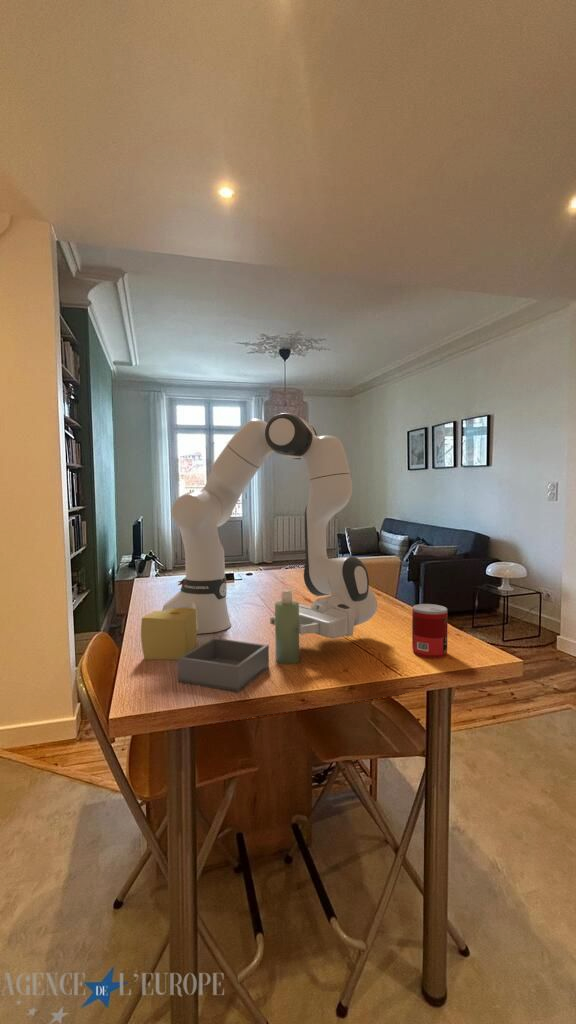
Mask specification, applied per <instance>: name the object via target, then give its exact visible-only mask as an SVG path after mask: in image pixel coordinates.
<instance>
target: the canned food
mask: <svg viewBox="0 0 576 1024" xmlns="http://www.w3.org/2000/svg"><path fill="white" fill-rule="evenodd" d="M411 611H412V612H411V613H412V614H411V616H412V617H411V618H412V619H411V620H412V621H411V622H412V623H411V625H412V628H411V630H412V631H411V632H412V633H411V634H412V642H411V643H412V644H411V645H412V646H411V647H412V648H411V649H412V650H413V651H412V652H413V654H415V655H416V656H418V657H419V658H420V657H421V658H425V659H441V658H444V657H446V656H447V654H448V629H449V627H448V625H449V624H448V618H449V617H448V608H447V607H445V606H443V605H439V604H432V603H420V604H415V605H413V606H412V610H411Z"/></svg>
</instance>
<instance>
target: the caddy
mask: <svg viewBox="0 0 576 1024" xmlns="http://www.w3.org/2000/svg"><path fill="white" fill-rule="evenodd" d="M269 647H270V646H269V644H263V643H255V642H248V641H240V640H233V639H224V638H216V637H212V639H209V640H207V641H206V642H203V643H202V644H200V645H198V646H196V647H195V648H194V649H193V650H191V651H189V652H188V653H186V654H184V655H182V656H180V657H179V658H178V660H177V681H178V683H183V684H187V683H188V684H187V685H193V684H195V685H194V686H198V685H200V686H199V687H204V686H205V687H204V688H210V689H216V690H221V691H222V690H223V691H228V692H234V693H240V692H242V691H243V689H245V688H246V687H247V686H248V685H249V684H251V683H252V682H253V681H254V680H256V679H257V678H258V677H259V676H260V675H262V674H263V673H264V672H265V671H266V670H267V669H269V668H270V662H269V660H270V658H269V657H270V655H269V654H270V650H269V649H270V648H269Z"/></svg>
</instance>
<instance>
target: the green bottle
mask: <svg viewBox="0 0 576 1024" xmlns="http://www.w3.org/2000/svg"><path fill="white" fill-rule="evenodd" d="M299 604H300V603H299V602H298V601H293V590H292V589H282V590H281V601H277V602H275V604H274V616H275V625H274V627H275V628H274V631H275V634H274V635H275V640H274V641H275V661H276V662H277V663H279V664H283V665H291V664H295V663H298V662H299V661H300V634H299V633H297V626H298V625H299Z"/></svg>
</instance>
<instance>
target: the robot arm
mask: <svg viewBox="0 0 576 1024" xmlns="http://www.w3.org/2000/svg"><path fill="white" fill-rule="evenodd" d="M275 453H276V454H278V455H281V456H282V457H285V458H287V459H288V458H289V459H293V460H303V461H302V462H304V463H305V467H306V471H307V478H308V485H309V498H308V502H307V504H306V506H305V510H304V549H305V551H304V553H305V562H304V570H303V581H304V584H305V587H306V588H307V590H308V591H309V592H310V594H312V595H314V596H316V597H320V598H317V599H315V600H314V601H313V602H312V604H311V606H309V605H306V604H301V603H299V625H298V626H297V633H299V635H306V634H313V635H314V634H316V635H319V636H321V637H324V638H329V639H337V638H342V637H350V636H353V635H354V627H356V626H359V625H361V624H364V623H366V622H368V621H370V620H371V619H372V618H373V617H374V615H375V614H376V612H377V610H378V600H377V597H376V595H375V593H374V592H372V591H371V589H370V583H369V581H370V580H369V574H368V571H367V568H366V565H365V564H364V562H363V561H361V559H359V558H358V557H356V556H343V557H336V558H335V557H333V558H329V557H328V554H327V553H328V552H327V526H328V524H329V522H330V520H331V519H332V518H333V517H334V516H335V515H336V514H337V513H339V512H340V511H342V510H343V509H344V508H345V507H346V506H347V505H348V504H349V501H350V500H351V498H352V495H353V482H352V476H351V472H350V471H351V470H350V466H349V465H350V464H349V462H348V458H347V457H348V456H347V453H346V451H345V447H344V446H343V443H342V441H341V440H340V439H339V438H337V437H335V436H333V435H326V434H325V435H318V433H317V431H316V429H315V428H314V426H312V425H311V424H310V423H309V422H308V420H307V421H306V419H304V418H303V417H299V416H297V415H296V414H293V413H290V412H283V413H279V414H276V415H274V416H273V417H271V418H270V419H269V421H268V422H267V421H265V420H263V419H260V418H250V419H249V420H247V421H246V422H245V423H244V424H243V425H242V426H241V427H240V428H239V429H238V430H237V432H235V434H234V435H233V436H232V437H231V438H230V440H229V441H228V442H227V444H226V445H225V447H224V448H223V450H221V453H220V454H219V455H218V456H217V458H216V459H215V461H214V462H213V464H212V466H211V467H210V472H209V473H210V474H209V476H208V479H207V481H206V484H205V485H204V487H203V488H202V489H201V490H196V491H194V490H193V491H192V490H191V491H188V492H186V493H184V494H182V495H180V496H178V498H176V499H175V501H174V502H173V504H172V507H171V517H172V520H173V522H174V524H176V526H177V527H178V529H179V532H180V535H181V540H182V544H183V548H184V559H185V560H184V562H185V565H184V567H185V577H184V578H183V579H181V580H179V581H177V583H178V584H177V586H181V587H180V591H178V592H177V593H176V594H175V595H174V596H172V598H170V599H169V600H167V601H166V602H165V603H164V604H163V605H162V609H161V611H165V610H168V609H171V608H190V609H196V630H197V635H199V634H210V633H218V632H221V631H224V630H227V629H229V628H230V627H231V626H232V621H231V619H230V615H229V611H228V605H227V598H226V597H227V593H228V592H227V577H226V572H225V569H226V568H225V567H226V566H225V563H226V562H225V549H224V547H223V545H222V543H221V540H220V536H219V531H218V528H219V527H221V526H223V525H224V524H226V523H227V522H228V521H229V520H230V518H231V517H232V514H233V511H234V509H235V507H236V505H237V504H238V501H239V499H240V497H241V495H242V494H243V492H244V490H245V489H246V488H247V486H248V485H249V483H250V482H251V480H252V479H253V478H254V476H255V475H256V474H257V472H258V471H259V469H260V467H262V465H263V464H264V462H265V461H266V460H267V458H268V457H270V456H271V455H272V454H275ZM322 596H324V597H322ZM269 621H270V622H269V623H270V624H271V625H272V626H275V615H273V616H270V618H269Z"/></svg>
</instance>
